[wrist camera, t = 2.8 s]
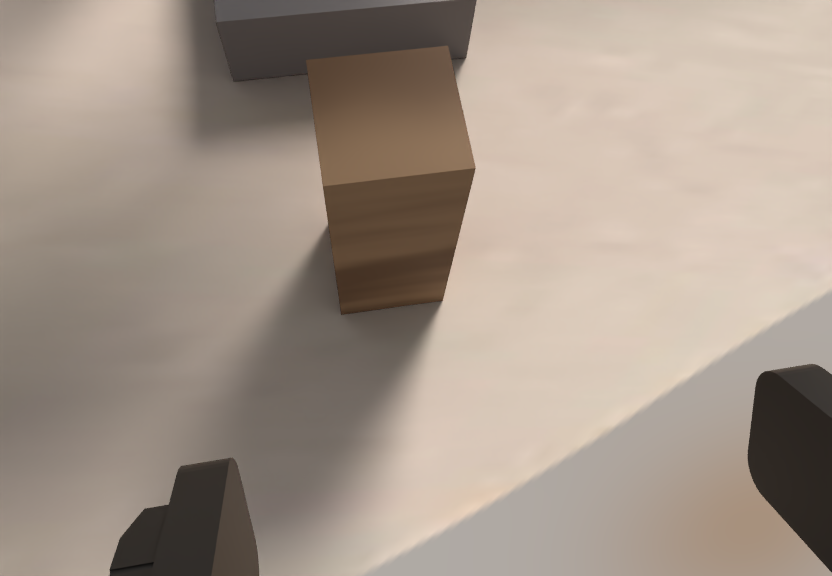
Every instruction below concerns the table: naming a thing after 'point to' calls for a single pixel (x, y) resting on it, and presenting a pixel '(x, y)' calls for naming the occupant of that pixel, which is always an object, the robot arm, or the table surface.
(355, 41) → the socket
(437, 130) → the walnut peg
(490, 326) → the table surface
